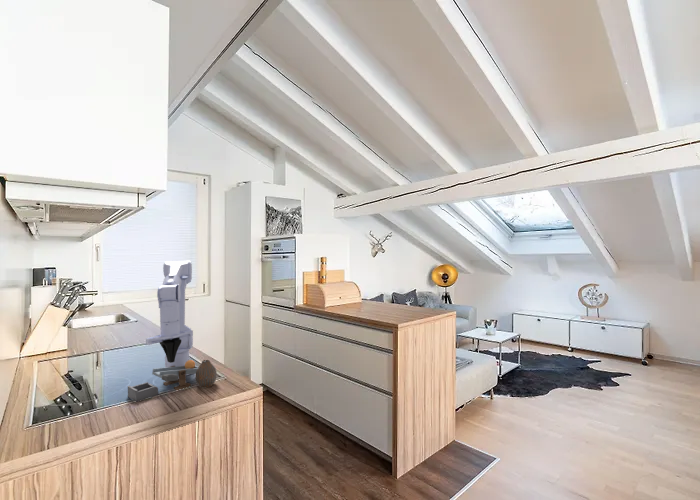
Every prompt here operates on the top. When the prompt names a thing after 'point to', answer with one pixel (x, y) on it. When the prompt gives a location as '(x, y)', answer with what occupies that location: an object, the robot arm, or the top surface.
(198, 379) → the vase
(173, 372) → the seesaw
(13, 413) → the top surface
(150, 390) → the grey open box
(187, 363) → the ball
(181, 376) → the stand
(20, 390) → the top surface
